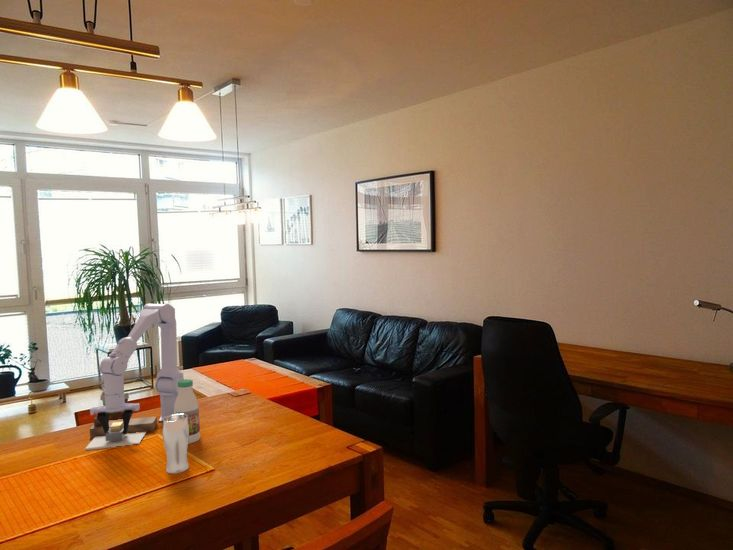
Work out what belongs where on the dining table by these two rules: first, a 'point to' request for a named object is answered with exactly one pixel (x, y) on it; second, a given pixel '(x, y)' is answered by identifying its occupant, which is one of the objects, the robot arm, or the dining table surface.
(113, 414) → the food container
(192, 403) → the milk bottle
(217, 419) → the dining table surface
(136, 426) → the body
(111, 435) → the lever cap
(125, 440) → the rubber mat
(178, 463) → the beer glass
